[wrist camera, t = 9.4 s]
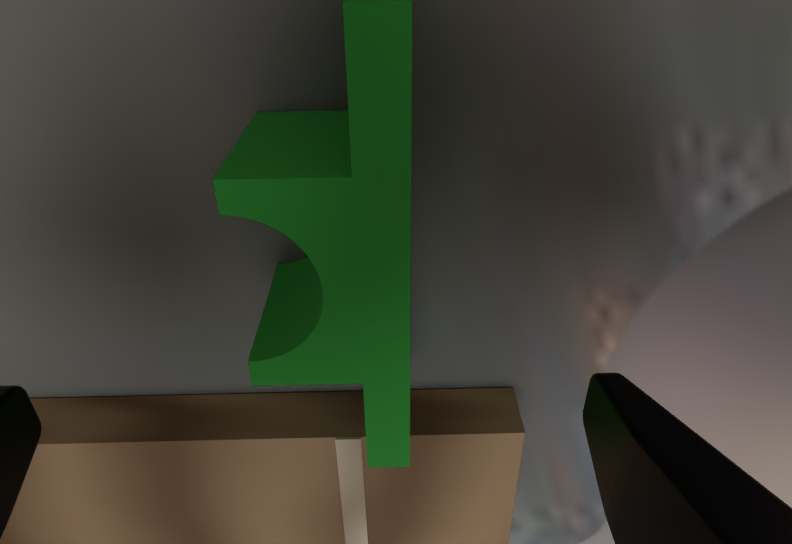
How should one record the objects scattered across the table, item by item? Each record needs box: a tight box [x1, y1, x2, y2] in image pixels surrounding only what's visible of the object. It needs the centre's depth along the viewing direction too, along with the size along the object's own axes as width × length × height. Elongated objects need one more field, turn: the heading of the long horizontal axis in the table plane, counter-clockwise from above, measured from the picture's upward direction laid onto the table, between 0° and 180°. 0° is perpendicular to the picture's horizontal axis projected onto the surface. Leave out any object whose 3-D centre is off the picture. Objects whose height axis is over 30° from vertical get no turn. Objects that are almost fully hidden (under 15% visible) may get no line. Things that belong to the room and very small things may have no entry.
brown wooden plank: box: [0, 388, 525, 544], centre depth 20 cm, size 24×6×2 cm, turn 91°
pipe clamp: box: [213, 0, 412, 467], centre depth 14 cm, size 11×4×5 cm, turn 1°
